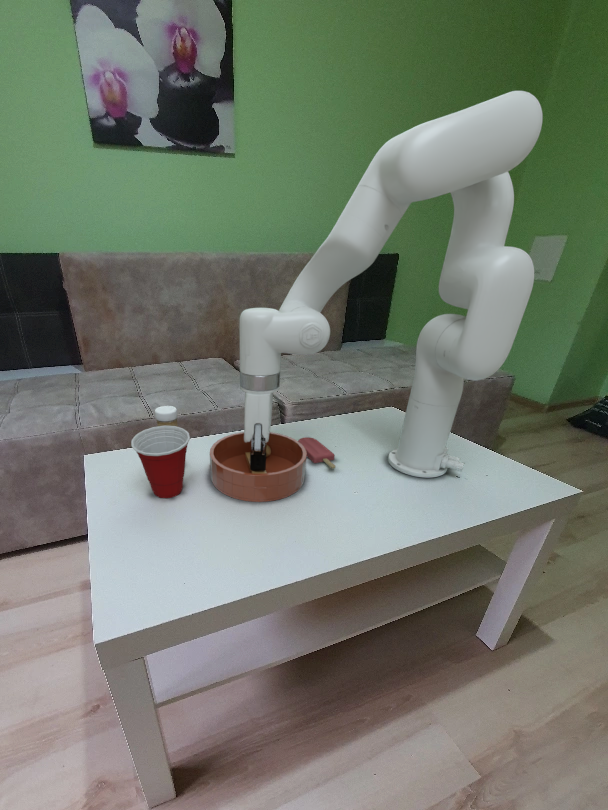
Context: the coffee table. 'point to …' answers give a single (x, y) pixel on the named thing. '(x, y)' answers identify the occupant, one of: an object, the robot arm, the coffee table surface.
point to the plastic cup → (163, 458)
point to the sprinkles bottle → (166, 416)
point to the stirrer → (249, 460)
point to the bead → (268, 451)
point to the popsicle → (317, 451)
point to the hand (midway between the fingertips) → (258, 465)
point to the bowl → (257, 487)
